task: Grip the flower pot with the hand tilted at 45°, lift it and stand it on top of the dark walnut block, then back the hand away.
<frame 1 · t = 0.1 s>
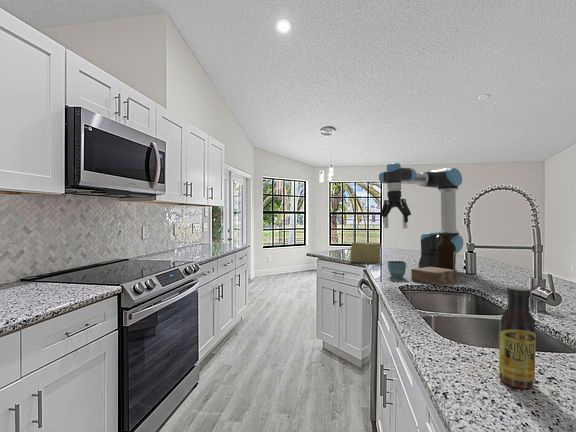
hand: (395, 228, 195), 28 cm above the worktop, tool pointing down, fingers open, 13 cm apart
olive oil: (446, 275, 200), on the worktop
walnut base: (433, 280, 185), on the worktop
flower pot: (396, 278, 196), on the worktop
cheese: (365, 262, 264), on the worktop
sauce bottle: (517, 384, 72), on the worktop
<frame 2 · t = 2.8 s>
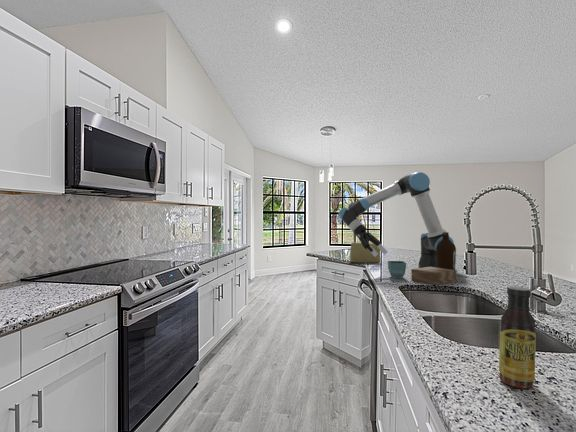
hand: (381, 254, 201), 13 cm above the worktop, tool tilted 45°, fingers open, 13 cm apart
nothing on the worktop moved.
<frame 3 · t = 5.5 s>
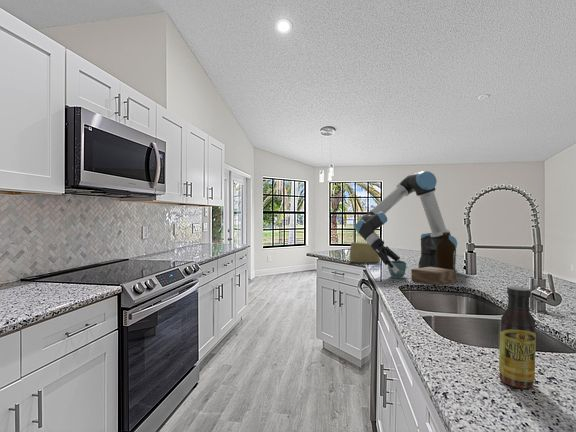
hand: (401, 270, 194), 4 cm above the worktop, tool tilted 45°, fingers closed on flower pot, 11 cm apart
flower pot: (396, 277, 196), on the worktop, touching gripper
everything else where it was.
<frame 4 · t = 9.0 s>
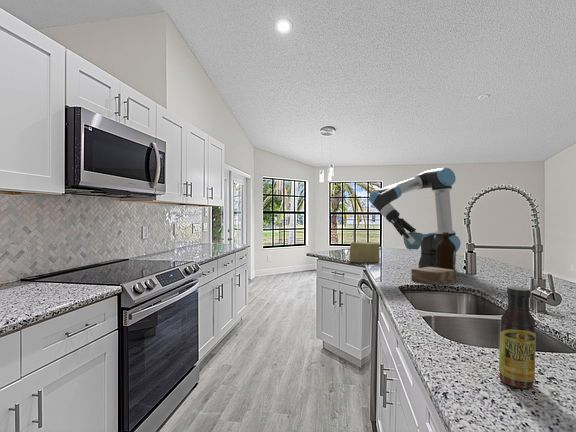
hand: (417, 241, 188), 21 cm above the worktop, tool tilted 45°, fingers closed on flower pot, 11 cm apart
flower pot: (412, 249, 190), point 16 cm above the worktop, touching gripper
everything else where it was.
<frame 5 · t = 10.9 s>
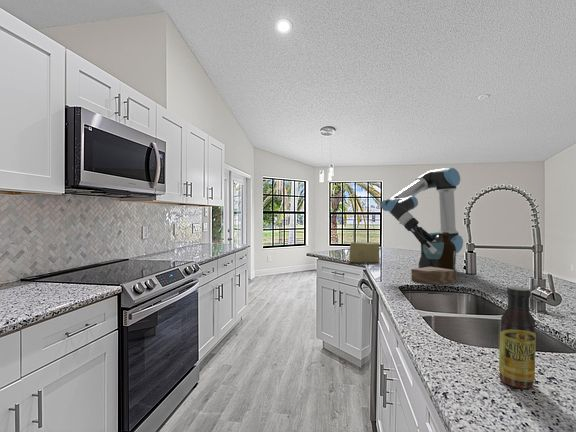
hand: (438, 251, 183), 16 cm above the worktop, tool tilted 45°, fingers closed on flower pot, 11 cm apart
flower pot: (433, 259, 185), point 12 cm above the worktop, touching gripper
everything else where it was.
when the fingers open (12 cm above the worktop, at t = 12.5 s): flower pot drops 1 cm, resting on walnut base.
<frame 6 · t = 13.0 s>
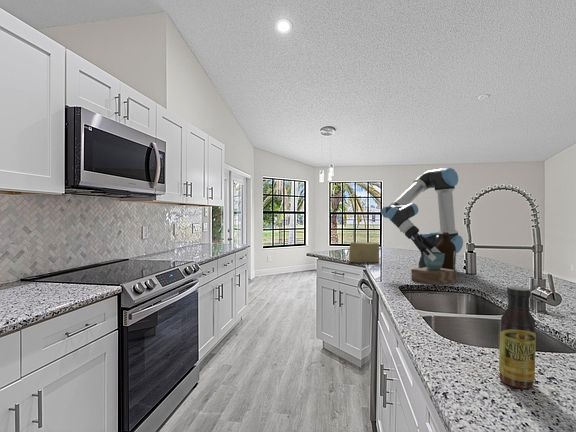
hand: (438, 258, 183), 12 cm above the worktop, tool tilted 45°, fingers open, 13 cm apart
flower pot: (433, 269, 185), point 6 cm above the worktop, touching walnut base
everything else where it was.
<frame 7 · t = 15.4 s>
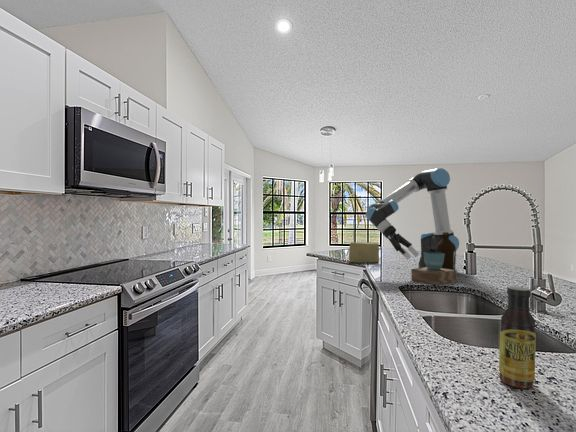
hand: (413, 256, 191), 12 cm above the worktop, tool tilted 45°, fingers open, 13 cm apart
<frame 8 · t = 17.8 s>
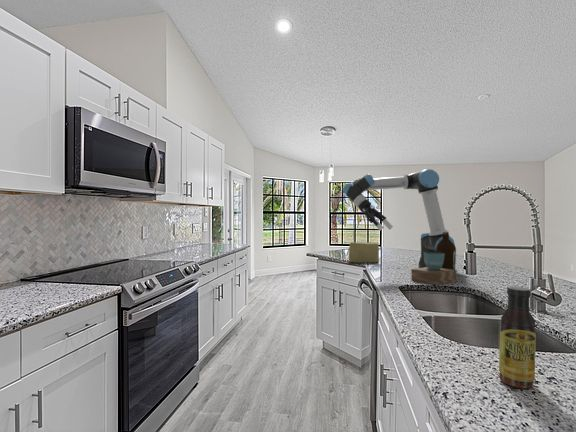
hand: (386, 228, 200), 28 cm above the worktop, tool tilted 45°, fingers open, 13 cm apart
at the end: flower pot inside the target area on the walnut base (0.4 cm from its centre), point 5.8 cm above the walnut base's base; flower pot tilted 0°; the gripper is holding nothing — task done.
